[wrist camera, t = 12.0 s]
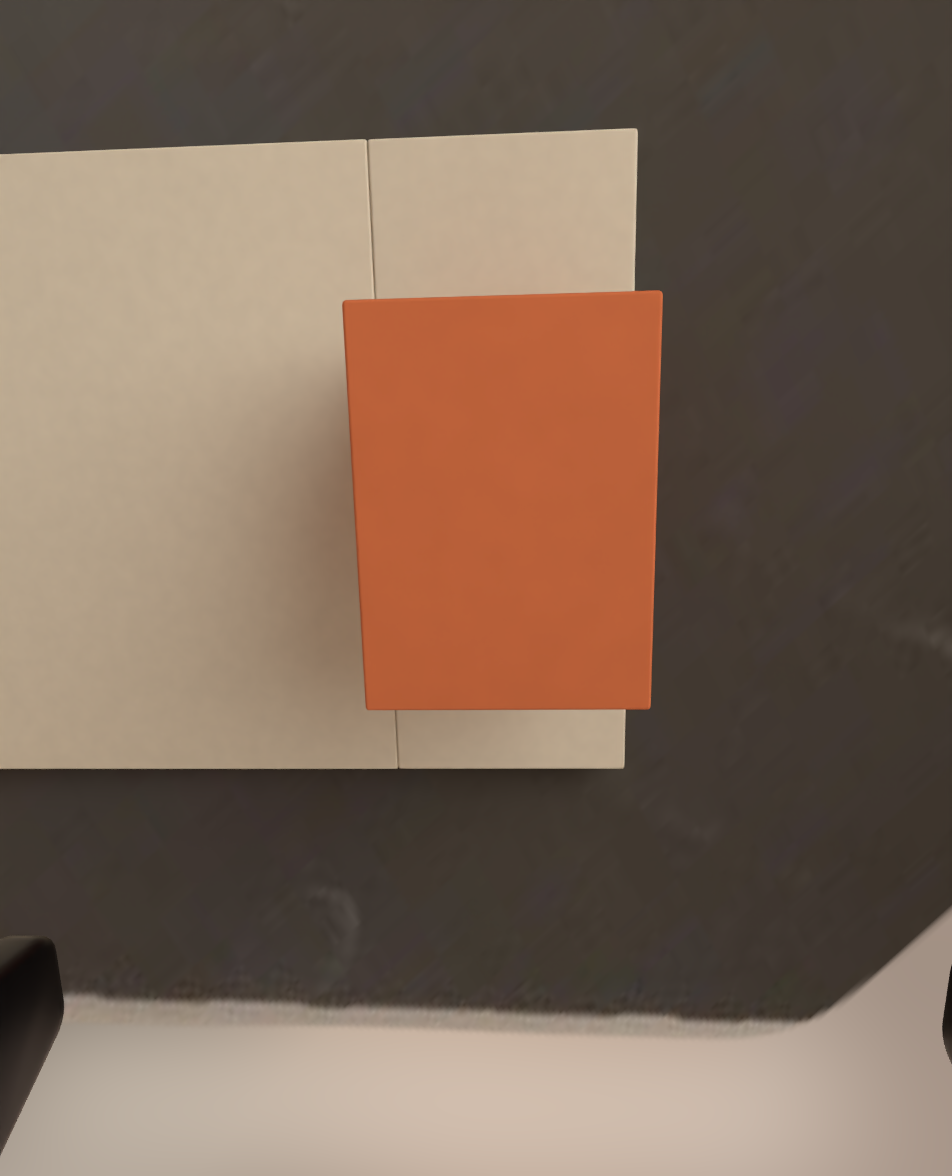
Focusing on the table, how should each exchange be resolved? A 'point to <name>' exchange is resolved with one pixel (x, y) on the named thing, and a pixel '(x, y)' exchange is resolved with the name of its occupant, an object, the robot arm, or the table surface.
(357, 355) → the orange block
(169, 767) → the base pad
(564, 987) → the table surface
